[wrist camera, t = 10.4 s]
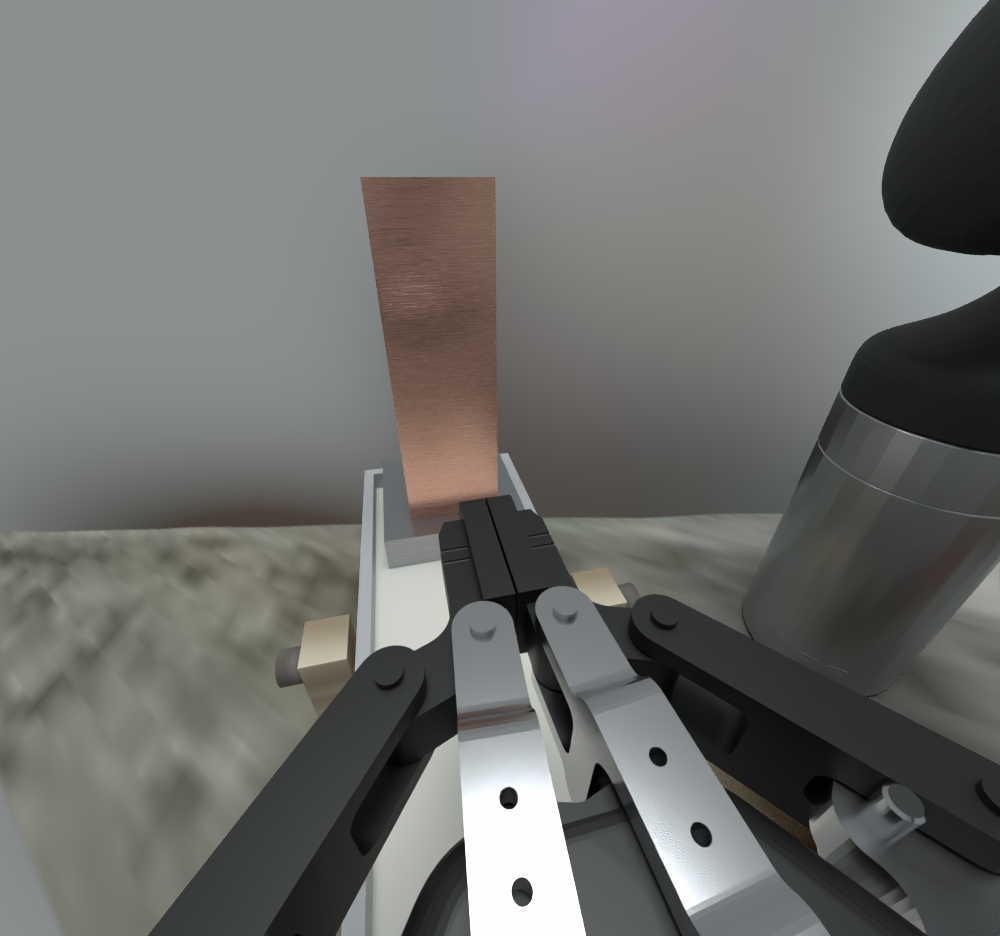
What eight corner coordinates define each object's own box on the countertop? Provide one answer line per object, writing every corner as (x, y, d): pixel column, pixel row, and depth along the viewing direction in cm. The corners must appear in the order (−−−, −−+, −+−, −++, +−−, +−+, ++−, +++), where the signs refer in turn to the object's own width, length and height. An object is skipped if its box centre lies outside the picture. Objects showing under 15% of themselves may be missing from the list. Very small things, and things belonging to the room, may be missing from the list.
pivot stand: (643, 749, 24) (681, 647, 19) (311, 840, 21) (250, 745, 16) (587, 630, 31) (604, 529, 26) (327, 685, 28) (287, 582, 22)
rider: (528, 545, 25) (544, 176, 16) (389, 569, 24) (311, 176, 14) (497, 472, 32) (495, 180, 22) (387, 487, 31) (332, 180, 21)
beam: (728, 995, 12) (760, 974, 11) (355, 1148, 10) (330, 1148, 9) (507, 484, 34) (507, 453, 32) (371, 502, 32) (364, 470, 30)
